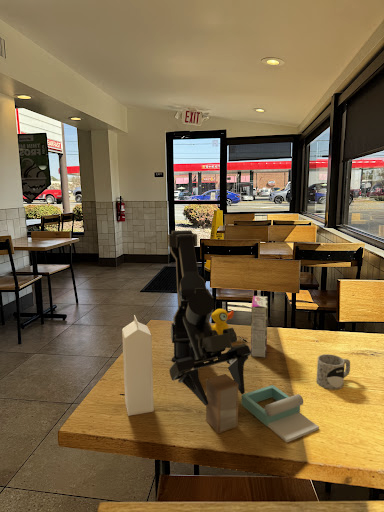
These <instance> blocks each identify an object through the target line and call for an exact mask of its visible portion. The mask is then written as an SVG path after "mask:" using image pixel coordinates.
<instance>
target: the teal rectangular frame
mask: <svg viewBox="0 0 384 512" xmlns="http://www.w3.org/2000/svg"><path fill="white" fill-rule="evenodd" d="M240 398H241V399H240V401H241V404H240V405H241V406H243V408H245V409H246V410H247V411H248V412H250V413H251V414H252V415H253V416H254V417H255V418H256V419H258V420H259V421H260V422H261V423H262V424H263V425H265V426H266V427H268V428H269V429H270V430H272V432H274V433H275V434H276V435H277V436H279V438H280V439H282V440H283V441H284V442H285V443H290V442H291V441H294V440H296V439H298V438H301V437H304V436H307V435H308V434H311V433H314V432H316V431H318V430H320V429H319V428H320V426H319V425H318V424H316V423H315V422H313V421H312V420H310V419H309V418H308V417H307V416H305V415H304V414H302V413H301V412H300V410H301V406H303V405H304V398H303V396H302V395H301V394H299V393H298V394H294V395H292V396H289V395H288V394H287V393H285V392H283V390H281V389H279V388H278V387H276V386H275V385H274V384H272V385H268V386H264V387H262V388H258V389H256V390H253V391H249V392H245V393H244V394H241V397H240ZM270 398H272V399H274V400H275V401H274V402H272V403H268V404H266V405H265V406H264V408H263V407H262V406H261V405H259V404H258V402H261V401H264V400H268V399H270Z"/></svg>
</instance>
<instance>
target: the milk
mask: <svg viewBox="0 0 384 512" xmlns="http://www.w3.org/2000/svg"><path fill="white" fill-rule="evenodd" d="M121 334H122V337H121V338H122V360H123V361H122V362H123V380H124V381H123V383H124V402H125V407H126V412H127V416H128V417H129V416H133V415H134V416H135V415H141V414H147V413H152V412H154V409H155V407H154V406H155V405H154V381H153V380H154V375H153V343H152V341H153V340H152V339H153V336H152V334H151V331H150V329H149V327H148V325H146V324H144V323H141V322H139V321H138V319H137V317H136V315H135V314H133V321H132V322H130V323H128V324H127V325H126V326H124V327H123V328H122V330H121Z"/></svg>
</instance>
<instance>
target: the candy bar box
mask: <svg viewBox="0 0 384 512" xmlns="http://www.w3.org/2000/svg"><path fill="white" fill-rule="evenodd" d="M268 298H269V297H268V296H262V295H253V296H252V301H251V313H250V314H251V316H250V317H251V319H250V320H251V322H250V323H251V324H250V329H251V330H250V335H251V336H250V350H251V352H252V354H251V355H250V357H254V358H265V359H266V358H267V353H268V352H267V350H268V349H267V348H268V347H267V345H268V344H267V343H268V309H269V307H268V306H269V301H268Z"/></svg>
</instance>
